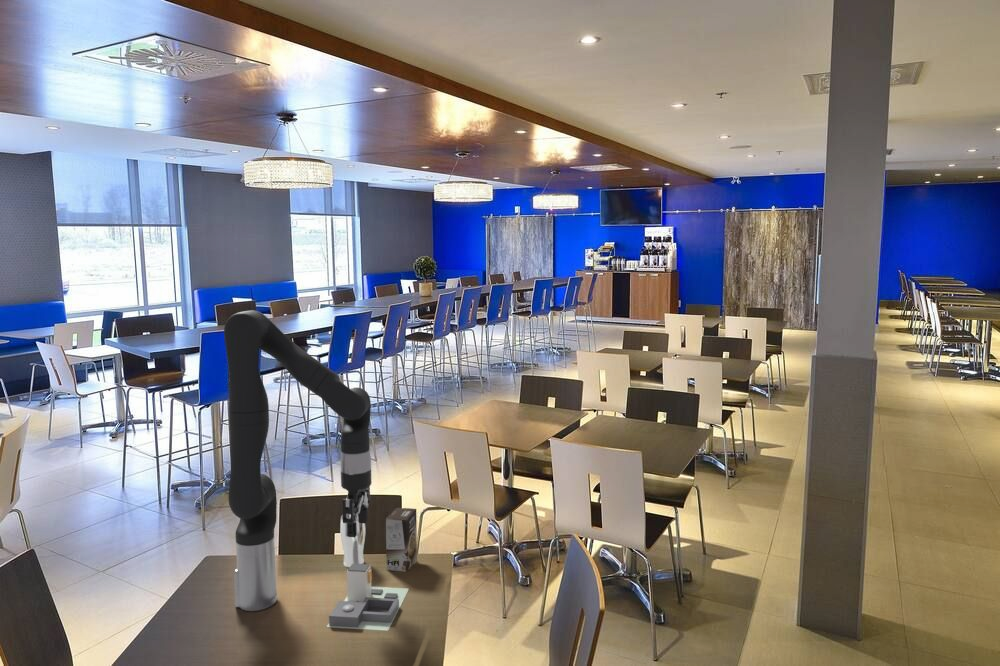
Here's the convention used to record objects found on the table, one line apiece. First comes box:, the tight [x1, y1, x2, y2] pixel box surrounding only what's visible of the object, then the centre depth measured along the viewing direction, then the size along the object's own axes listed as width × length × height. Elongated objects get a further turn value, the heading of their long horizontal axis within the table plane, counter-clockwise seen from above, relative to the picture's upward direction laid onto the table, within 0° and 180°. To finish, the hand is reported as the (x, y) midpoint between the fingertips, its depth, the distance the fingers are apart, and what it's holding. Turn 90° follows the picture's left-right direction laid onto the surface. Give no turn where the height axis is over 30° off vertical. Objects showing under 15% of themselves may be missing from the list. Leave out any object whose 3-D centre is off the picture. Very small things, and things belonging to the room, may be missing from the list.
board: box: [326, 586, 410, 632], centre depth 166 cm, size 15×20×3 cm
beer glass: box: [339, 514, 366, 568], centre depth 190 cm, size 7×7×15 cm
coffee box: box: [385, 507, 418, 573], centre depth 189 cm, size 9×6×16 cm
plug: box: [346, 563, 373, 602], centre depth 170 cm, size 6×4×8 cm
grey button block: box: [328, 600, 367, 628], centre depth 163 cm, size 7×11×3 cm, turn 174°
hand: (357, 529), depth 169 cm, fingers open, 8 cm apart
